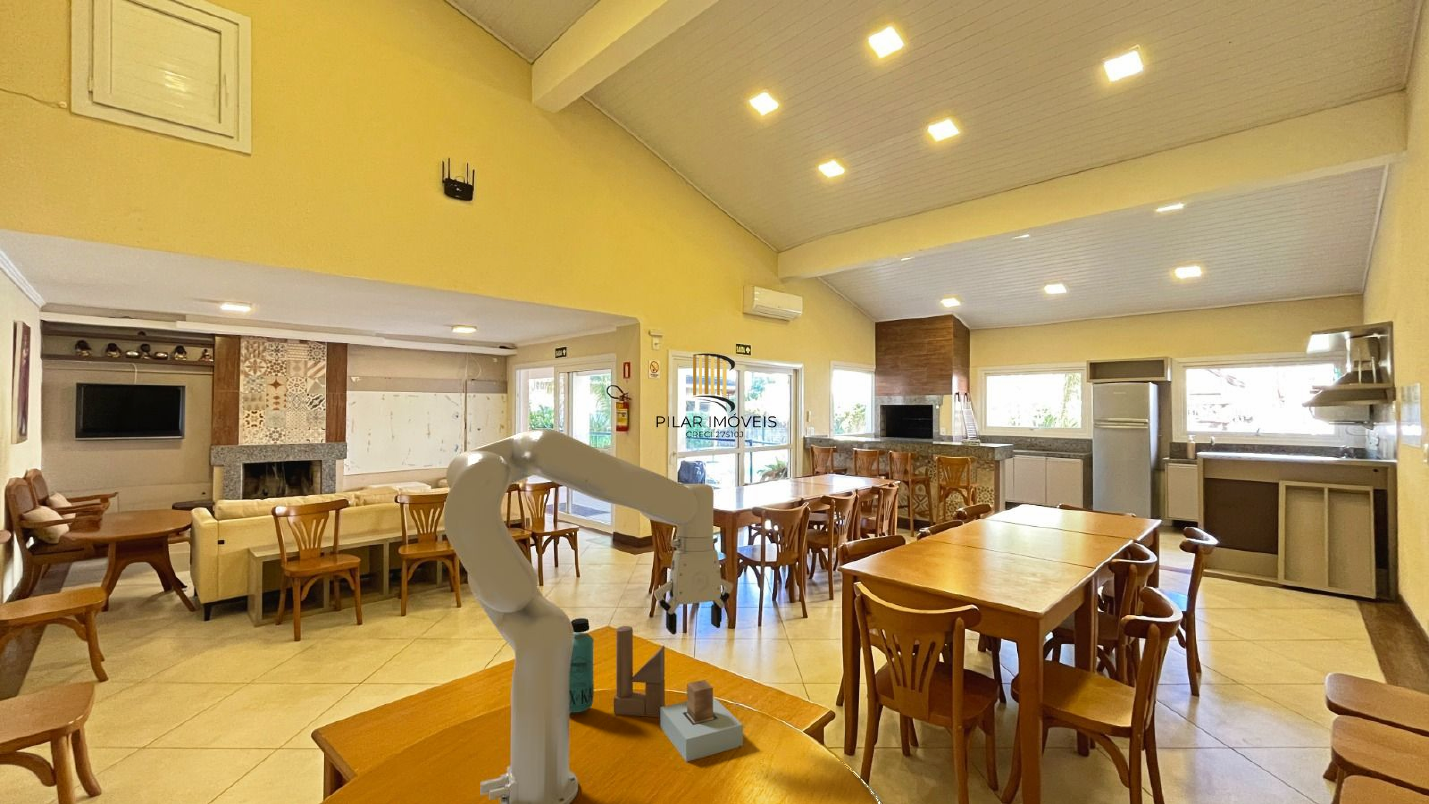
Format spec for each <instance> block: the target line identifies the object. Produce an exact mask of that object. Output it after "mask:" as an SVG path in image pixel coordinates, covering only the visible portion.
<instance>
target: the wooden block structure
mask: <svg viewBox="0 0 1429 804" xmlns="http://www.w3.org/2000/svg"><path fill="white" fill-rule="evenodd" d="M633 634H634V629H633V627H632V626H630V625H629V626H628V625H623V626H619V627H617V629H616V654H615V655H616V660H615V661H616V666H615V667H616V676H615V677H616V681H615V682H616V684H615V685H616V687H615V688H616V689H615V690H616V693H615V696H614V698H613V714H614V715H623V716H636V717H648V718H649V717H650V718H659V719H660V707H664V706H666V702H665V701H666V699H665V697H666V691H665V689H666V688H665V687H666V686H665V685H666V682H665V673H666V672H665V671H666V669H665V667H666V665H665V659H666V658H665V652H666V651H665V644H663V645H662V646H661V647H660V648H659V649H658V650H657V651H656V652H655V653H654V654H653V655H652V656H651V657H650V658H649V659H648V660H647V661H646V663H644V664H643V665H642V667H640V668H639V669H638V671H636V673H634V669H633V668H634V656H633V655H634V652H633V651H634V650H633V649H634V644H633V643H634V642H633V640H634V635H633ZM634 683H644V685H645V687H644V688H645V694H644V693H643V692H641V691H640V692H638V691H634V687H633V686H634Z"/></svg>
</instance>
